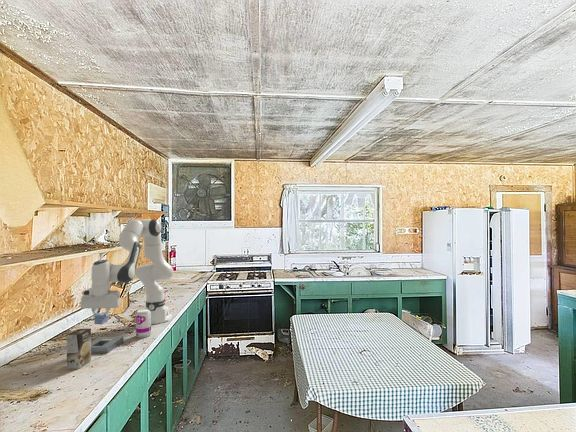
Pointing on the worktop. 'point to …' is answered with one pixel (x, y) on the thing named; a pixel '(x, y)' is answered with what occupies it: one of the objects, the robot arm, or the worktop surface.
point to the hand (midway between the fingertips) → (101, 316)
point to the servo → (100, 318)
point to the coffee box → (78, 348)
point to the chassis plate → (105, 344)
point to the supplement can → (143, 323)
